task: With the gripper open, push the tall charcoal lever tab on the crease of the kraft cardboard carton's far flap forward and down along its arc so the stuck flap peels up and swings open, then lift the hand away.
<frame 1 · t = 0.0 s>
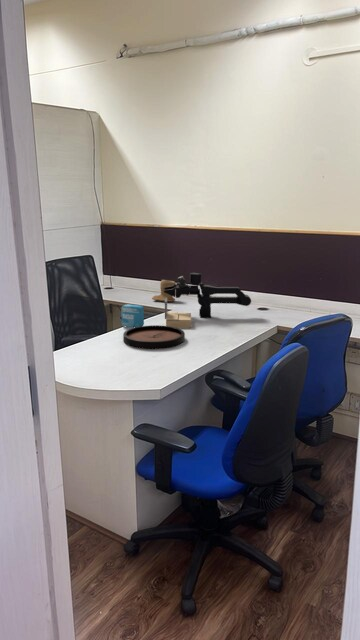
hand: (164, 289, 297), 17 cm above the table, tool horizontal, fingers open, 9 cm apart
tan piece: (165, 301, 345), on the table
carton flap: (171, 308, 281), point 9 cm above the table, hinge at 0.0°
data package: (132, 326, 278), on the table
carton: (178, 323, 283), on the table
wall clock: (154, 341, 251), on the table
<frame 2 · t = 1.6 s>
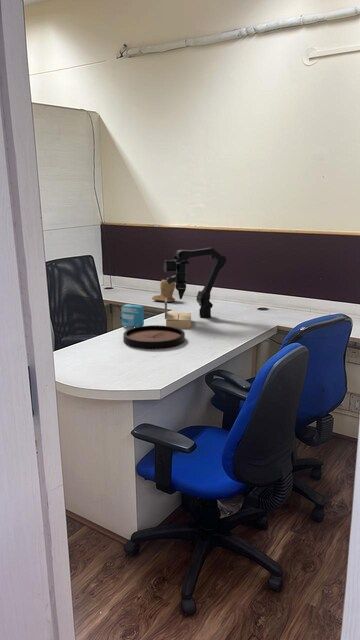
hand: (180, 297, 291), 13 cm above the table, tool pointing down, fingers open, 9 cm apart
nothing on the table moved.
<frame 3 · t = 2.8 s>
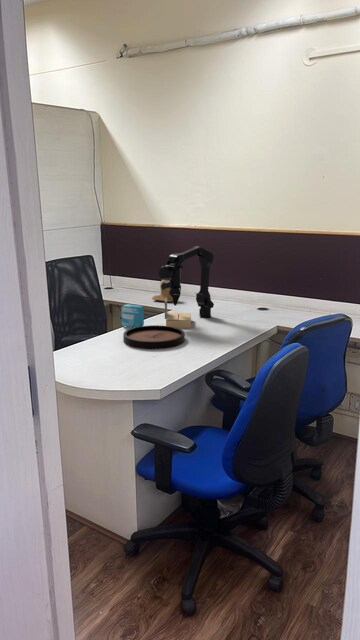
hand: (175, 303, 280), 12 cm above the table, tool pointing down, fingers open, 9 cm apart
nothing on the table moved.
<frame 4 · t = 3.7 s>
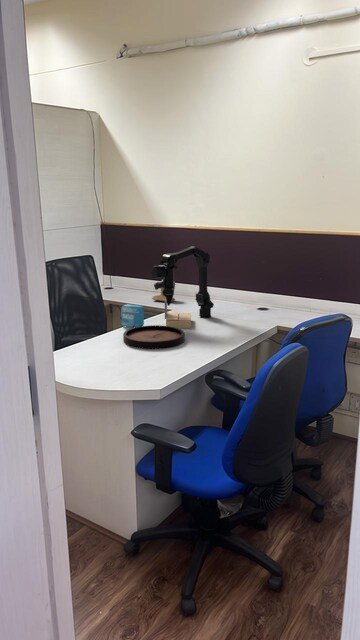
hand: (168, 303, 280), 12 cm above the table, tool pointing down
carton flap: (171, 308, 281), point 9 cm above the table, hinge at 0.4°, touching gripper
everything else where it was.
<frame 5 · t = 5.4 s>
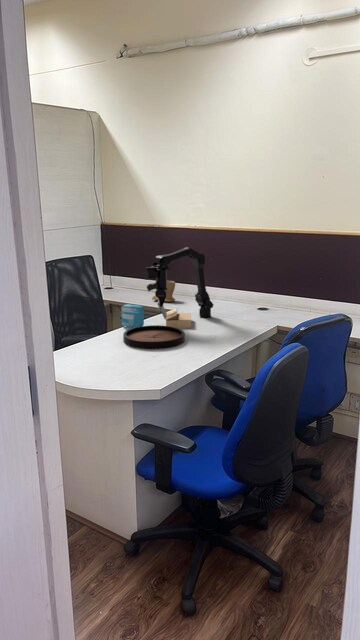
hand: (161, 305, 280), 11 cm above the table, tool pointing down
carton flap: (167, 306, 281), point 10 cm above the table, hinge at 24.9°, touching gripper
everything else where it was.
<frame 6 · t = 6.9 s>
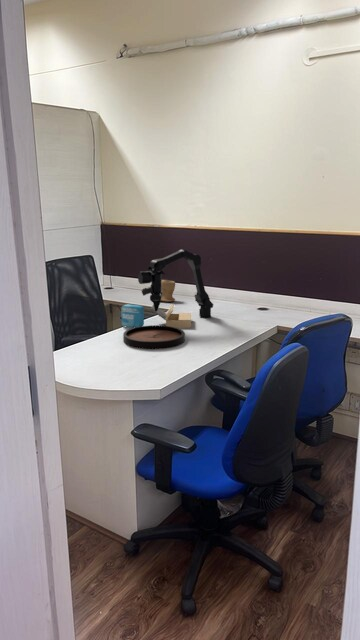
hand: (156, 309, 281), 9 cm above the table, tool pointing down
carton flap: (162, 307, 281), point 10 cm above the table, hinge at 54.5°, touching gripper
everything else where it was.
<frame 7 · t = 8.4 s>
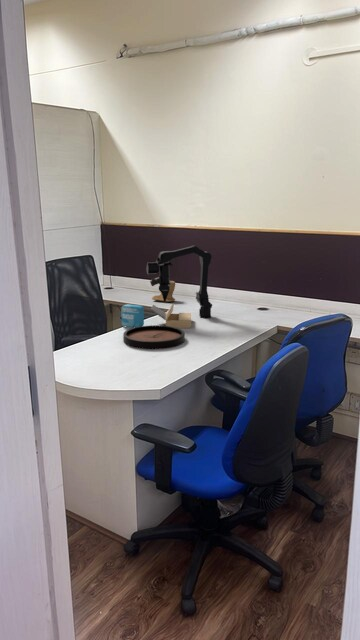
hand: (164, 299, 291), 12 cm above the table, tool pointing down, fingers open, 9 cm apart
carton flap: (162, 307, 281), point 10 cm above the table, hinge at 54.7°
everything else where it was.
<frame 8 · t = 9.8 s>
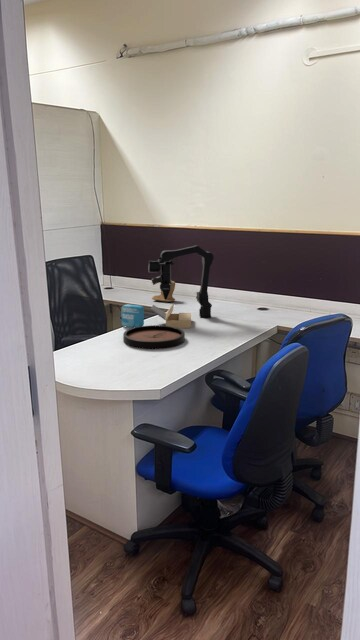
hand: (165, 298, 293), 13 cm above the table, tool pointing down, fingers open, 9 cm apart
nothing on the table moved.
at the end: carton flap at +55° (first picture: +0°); the gripper is holding nothing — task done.
